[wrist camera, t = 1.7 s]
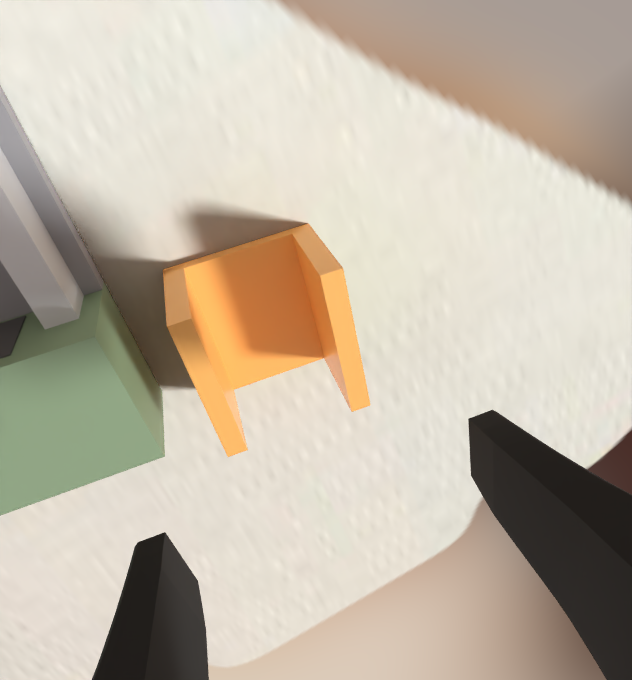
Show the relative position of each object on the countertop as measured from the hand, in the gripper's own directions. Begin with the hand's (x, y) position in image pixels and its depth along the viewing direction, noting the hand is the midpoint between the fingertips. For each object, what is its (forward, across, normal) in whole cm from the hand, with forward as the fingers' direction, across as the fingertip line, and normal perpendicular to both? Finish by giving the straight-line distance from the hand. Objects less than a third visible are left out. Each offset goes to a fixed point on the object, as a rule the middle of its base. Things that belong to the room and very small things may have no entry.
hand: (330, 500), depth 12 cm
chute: (+9, 0, 0) cm, 9 cm away
